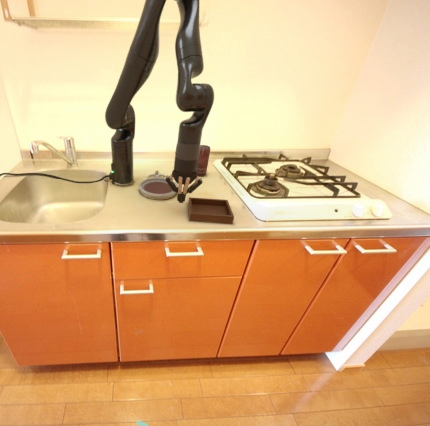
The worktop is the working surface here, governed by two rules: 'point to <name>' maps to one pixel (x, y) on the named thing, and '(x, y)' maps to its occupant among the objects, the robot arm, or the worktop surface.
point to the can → (203, 160)
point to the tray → (210, 210)
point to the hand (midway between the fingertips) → (180, 201)
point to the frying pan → (156, 187)
